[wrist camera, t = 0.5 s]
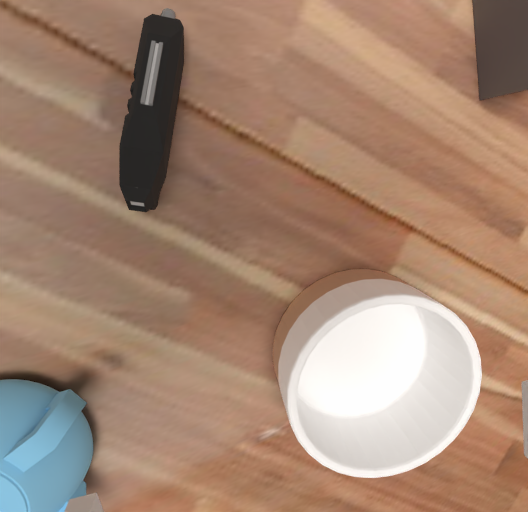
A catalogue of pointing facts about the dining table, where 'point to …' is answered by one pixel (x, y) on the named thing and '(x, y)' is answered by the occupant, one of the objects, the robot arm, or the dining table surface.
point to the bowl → (374, 373)
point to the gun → (151, 111)
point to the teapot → (41, 447)
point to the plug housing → (501, 46)
